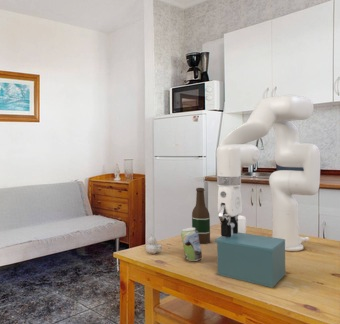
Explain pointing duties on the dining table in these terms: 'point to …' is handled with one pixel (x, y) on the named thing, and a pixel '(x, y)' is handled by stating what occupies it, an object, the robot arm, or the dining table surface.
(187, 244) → the beverage can
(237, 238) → the teal box lid
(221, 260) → the teal rectangular box
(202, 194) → the beer bottle
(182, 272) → the dining table surface
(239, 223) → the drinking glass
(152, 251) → the white figurine
